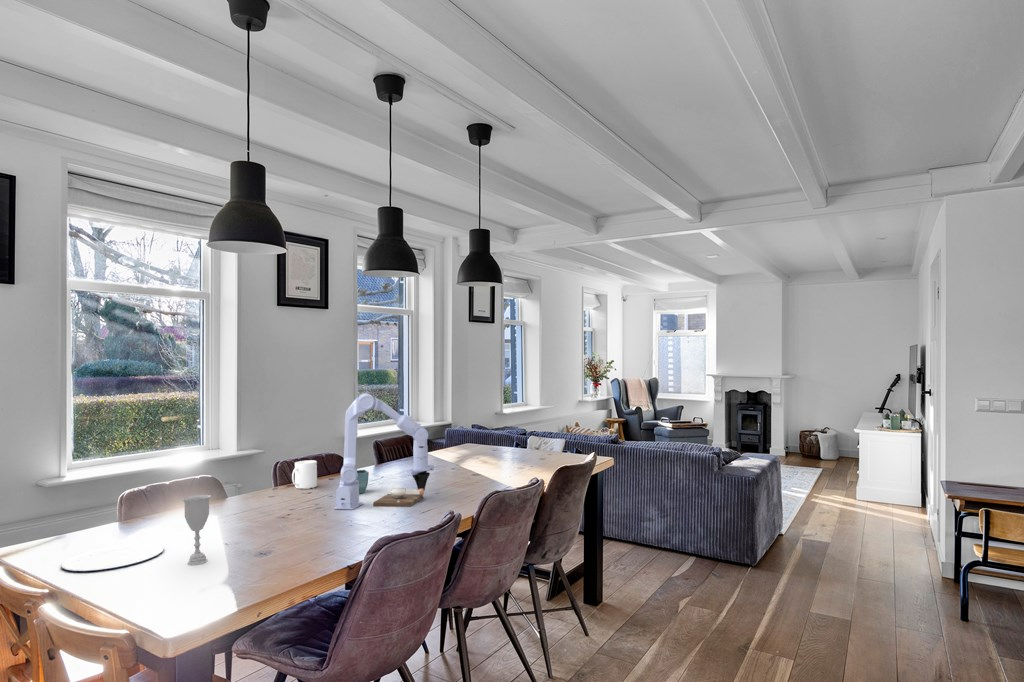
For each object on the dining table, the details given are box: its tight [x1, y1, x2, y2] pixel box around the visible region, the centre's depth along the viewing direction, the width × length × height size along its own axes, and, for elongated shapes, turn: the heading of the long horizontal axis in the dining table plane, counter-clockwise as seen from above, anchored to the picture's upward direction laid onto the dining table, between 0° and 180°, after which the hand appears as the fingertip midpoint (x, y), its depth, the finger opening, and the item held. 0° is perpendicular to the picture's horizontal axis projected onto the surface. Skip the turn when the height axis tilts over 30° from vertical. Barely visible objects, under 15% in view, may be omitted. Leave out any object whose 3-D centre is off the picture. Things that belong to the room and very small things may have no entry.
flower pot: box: [356, 469, 370, 494], centre depth 258 cm, size 9×9×9 cm
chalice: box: [182, 494, 212, 566], centre depth 170 cm, size 7×7×18 cm
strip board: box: [372, 493, 424, 508], centre depth 238 cm, size 15×15×3 cm
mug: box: [291, 459, 318, 489], centre depth 271 cm, size 10×12×12 cm
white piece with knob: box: [390, 487, 425, 496], centre depth 237 cm, size 13×6×2 cm, turn 80°
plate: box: [60, 542, 165, 573], centre depth 175 cm, size 25×25×1 cm
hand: (421, 491), depth 240 cm, fingers closed
